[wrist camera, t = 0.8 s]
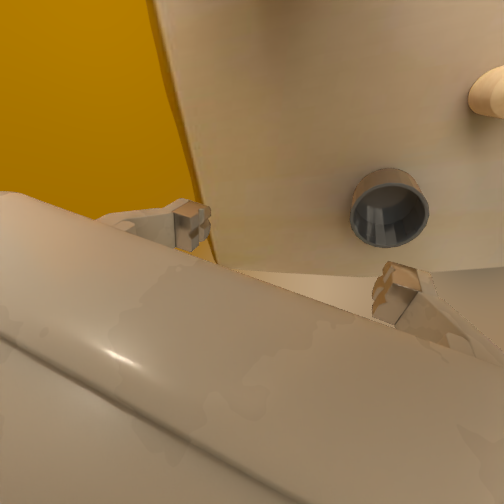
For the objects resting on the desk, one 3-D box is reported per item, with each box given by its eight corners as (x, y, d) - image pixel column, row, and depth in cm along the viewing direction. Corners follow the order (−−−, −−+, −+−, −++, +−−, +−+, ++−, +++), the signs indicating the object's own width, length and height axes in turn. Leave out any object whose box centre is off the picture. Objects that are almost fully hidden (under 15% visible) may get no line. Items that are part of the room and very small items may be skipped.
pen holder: (356, 167, 45) (354, 181, 38) (426, 168, 41) (438, 184, 34) (349, 222, 50) (346, 243, 43) (410, 227, 46) (418, 251, 39)
